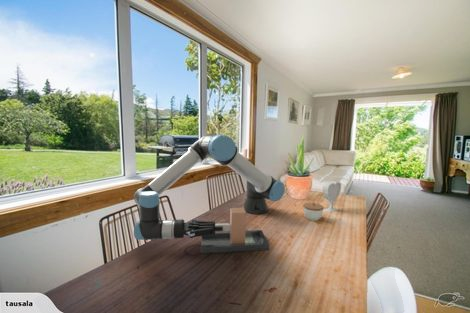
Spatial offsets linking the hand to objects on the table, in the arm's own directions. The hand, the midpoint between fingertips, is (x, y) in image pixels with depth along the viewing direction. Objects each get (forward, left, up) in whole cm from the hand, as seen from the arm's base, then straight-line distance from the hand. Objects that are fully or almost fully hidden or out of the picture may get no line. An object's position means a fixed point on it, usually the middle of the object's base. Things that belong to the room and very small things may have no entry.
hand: (230, 226), depth 93 cm
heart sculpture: (+16, +76, -8) cm, 78 cm away
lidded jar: (+14, +53, -8) cm, 56 cm away
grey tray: (+1, +1, -8) cm, 8 cm away
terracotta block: (+2, +3, -7) cm, 8 cm away
